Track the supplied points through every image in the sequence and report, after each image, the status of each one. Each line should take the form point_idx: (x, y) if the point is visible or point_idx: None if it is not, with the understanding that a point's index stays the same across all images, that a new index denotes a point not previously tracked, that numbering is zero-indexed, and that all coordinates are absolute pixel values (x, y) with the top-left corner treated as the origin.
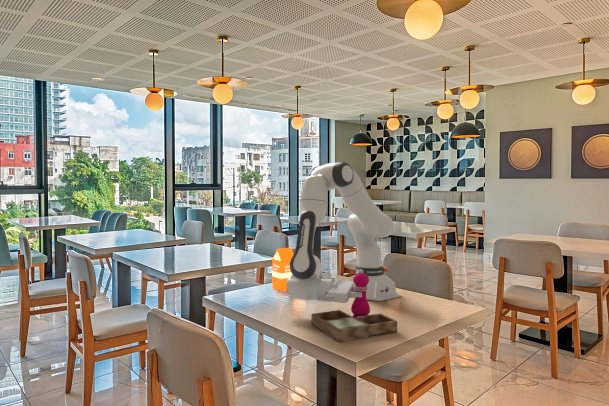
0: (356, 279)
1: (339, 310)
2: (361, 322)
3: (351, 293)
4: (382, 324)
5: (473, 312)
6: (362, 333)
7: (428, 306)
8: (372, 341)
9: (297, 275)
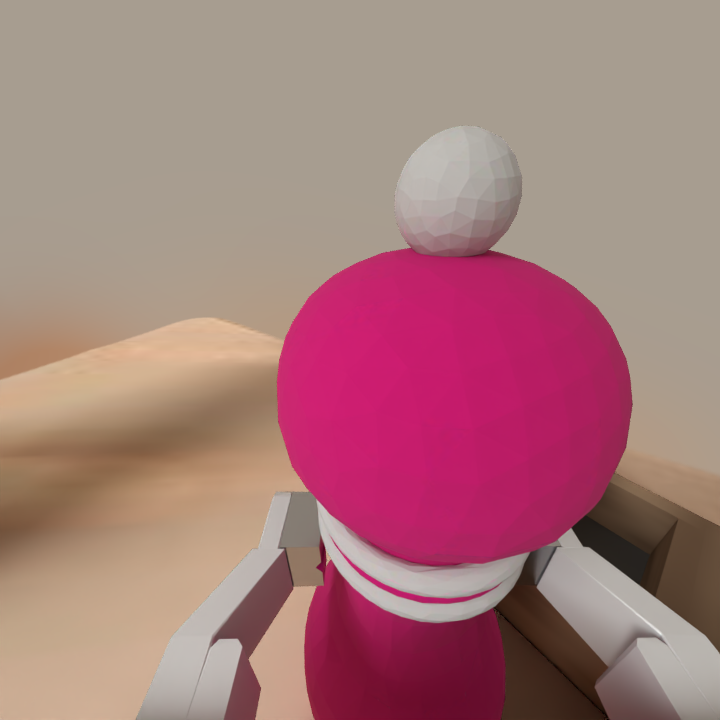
0: (630, 399)
1: None
2: (710, 580)
3: (709, 665)
4: None
5: (230, 324)
6: None
7: (142, 380)
8: None
9: None
